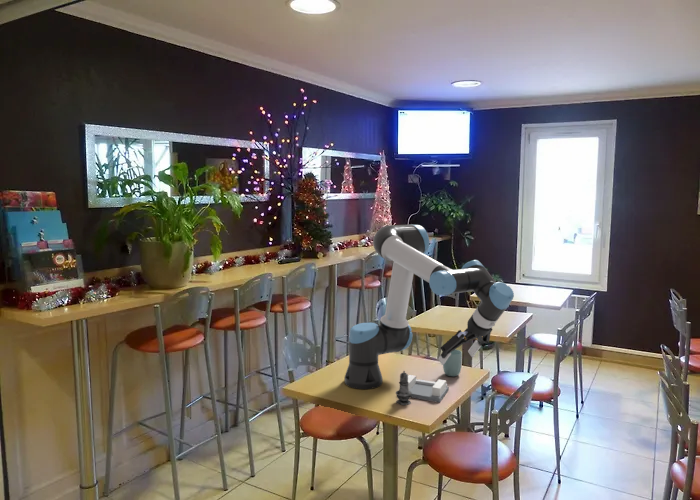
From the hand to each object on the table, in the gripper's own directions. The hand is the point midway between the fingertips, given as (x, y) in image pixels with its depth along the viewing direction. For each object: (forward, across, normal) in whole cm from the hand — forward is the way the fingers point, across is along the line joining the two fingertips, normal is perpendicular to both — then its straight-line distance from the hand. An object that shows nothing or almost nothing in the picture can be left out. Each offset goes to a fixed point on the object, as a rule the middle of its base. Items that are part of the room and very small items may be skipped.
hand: (455, 357), depth 187 cm
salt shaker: (+21, -15, -2) cm, 26 cm away
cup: (+31, +19, +8) cm, 37 cm away
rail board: (+23, -3, +1) cm, 24 cm away
